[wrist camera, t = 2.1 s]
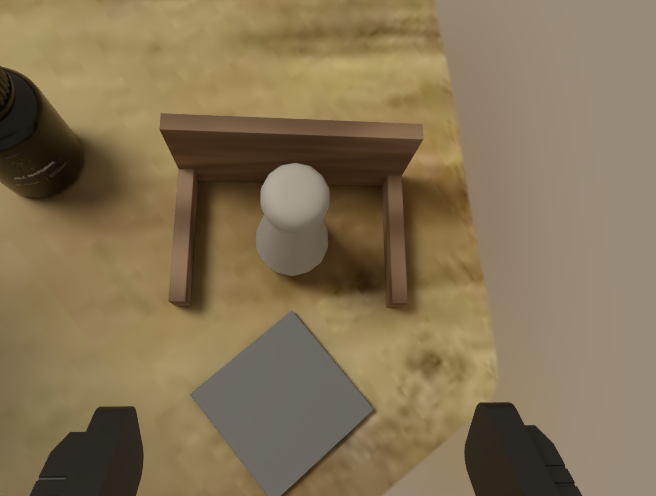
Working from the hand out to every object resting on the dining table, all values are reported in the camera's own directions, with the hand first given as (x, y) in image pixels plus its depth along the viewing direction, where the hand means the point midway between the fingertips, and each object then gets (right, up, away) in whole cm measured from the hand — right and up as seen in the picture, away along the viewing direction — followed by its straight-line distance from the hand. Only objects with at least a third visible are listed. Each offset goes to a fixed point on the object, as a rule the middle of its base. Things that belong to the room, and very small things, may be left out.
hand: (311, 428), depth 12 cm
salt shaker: (-3, +4, +30) cm, 31 cm away
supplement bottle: (-23, +11, +30) cm, 40 cm away
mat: (-3, -8, +27) cm, 28 cm away
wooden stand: (-3, +5, +30) cm, 31 cm away
